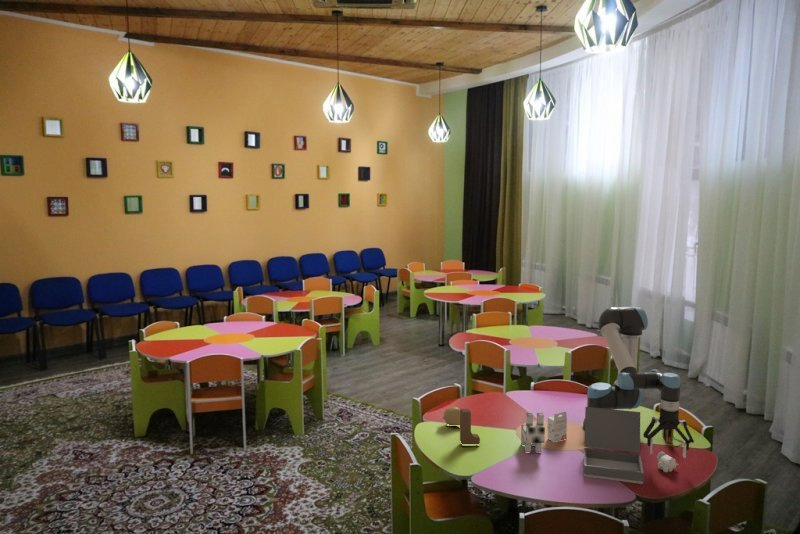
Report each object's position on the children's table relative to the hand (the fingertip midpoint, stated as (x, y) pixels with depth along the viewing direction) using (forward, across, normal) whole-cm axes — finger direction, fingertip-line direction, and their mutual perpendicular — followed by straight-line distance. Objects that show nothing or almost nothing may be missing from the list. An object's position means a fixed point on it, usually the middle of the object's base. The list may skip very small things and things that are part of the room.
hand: (667, 454), depth 259 cm
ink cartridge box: (+7, -48, +18) cm, 52 cm away
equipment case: (+7, -23, -8) cm, 25 cm away
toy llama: (+7, -59, +3) cm, 60 cm away
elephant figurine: (+7, 0, 0) cm, 7 cm away
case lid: (-7, -23, +5) cm, 25 cm away
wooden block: (+7, -89, 0) cm, 89 cm away
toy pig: (+6, -101, +21) cm, 103 cm away
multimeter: (+7, +8, +33) cm, 35 cm away
